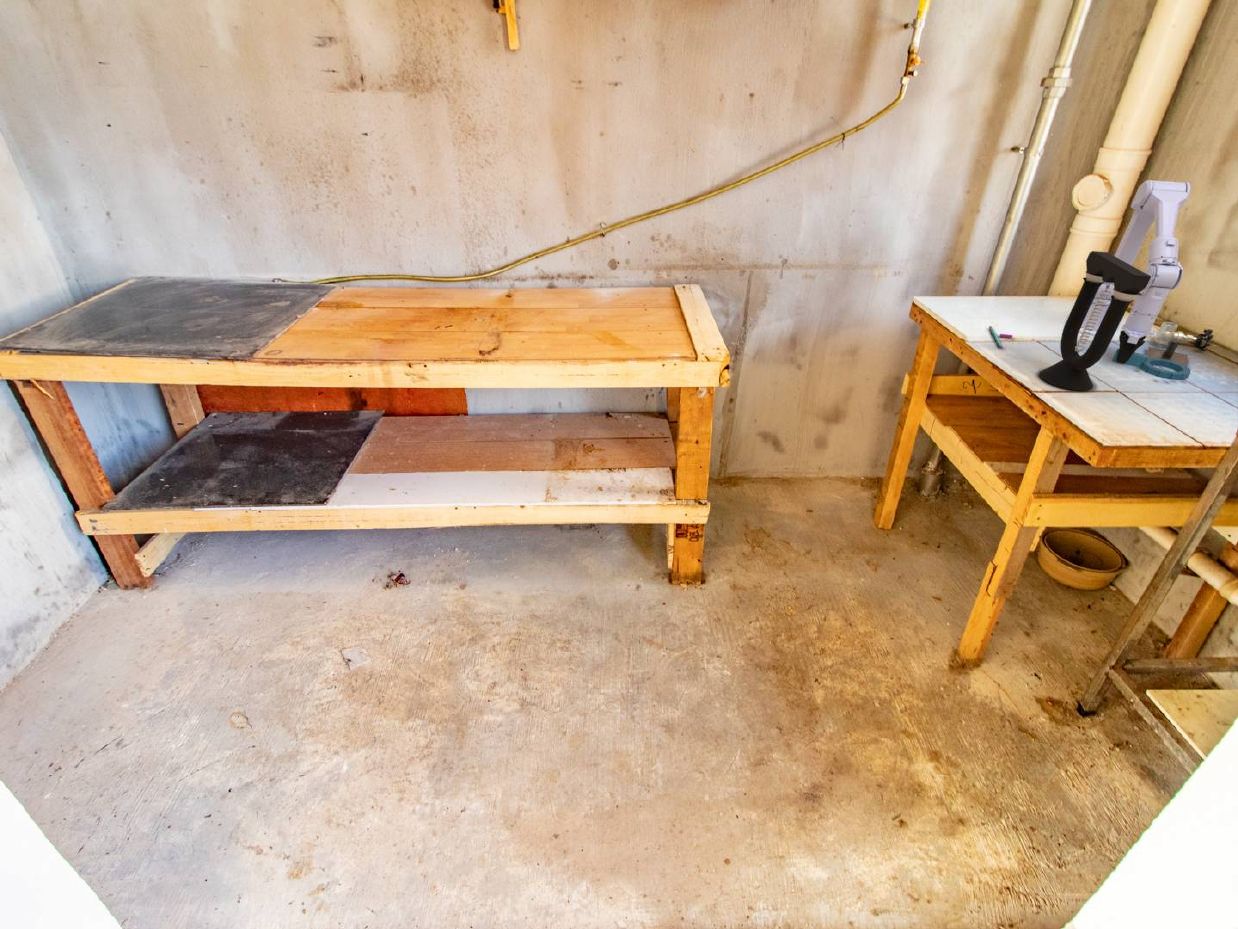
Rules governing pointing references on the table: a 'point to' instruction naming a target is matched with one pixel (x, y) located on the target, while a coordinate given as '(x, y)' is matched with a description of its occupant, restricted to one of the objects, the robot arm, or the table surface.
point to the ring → (1149, 364)
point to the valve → (1182, 336)
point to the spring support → (1126, 289)
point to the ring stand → (1168, 353)
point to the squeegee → (997, 337)
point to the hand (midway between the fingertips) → (1121, 360)
